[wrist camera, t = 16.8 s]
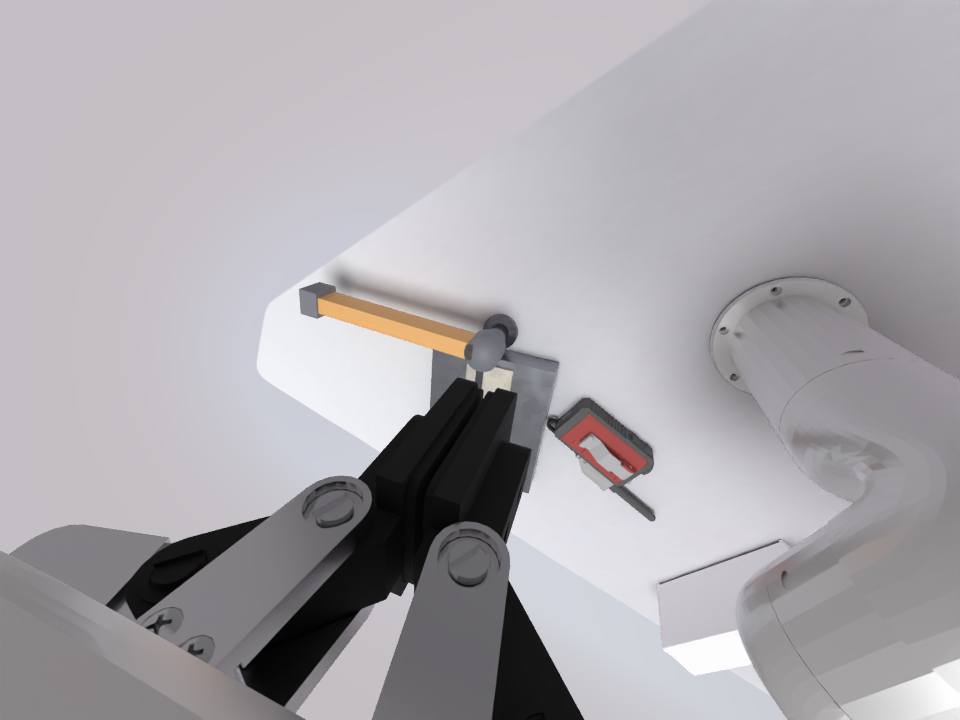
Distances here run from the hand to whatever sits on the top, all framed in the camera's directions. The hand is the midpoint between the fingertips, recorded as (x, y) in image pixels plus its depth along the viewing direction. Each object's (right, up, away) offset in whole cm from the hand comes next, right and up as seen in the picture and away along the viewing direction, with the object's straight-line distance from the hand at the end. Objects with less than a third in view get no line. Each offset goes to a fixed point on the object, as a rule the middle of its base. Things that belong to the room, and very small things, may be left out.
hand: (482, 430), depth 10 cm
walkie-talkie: (+18, -11, +40) cm, 45 cm away
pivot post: (+3, +6, +37) cm, 38 cm away
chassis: (+1, -5, +43) cm, 44 cm away
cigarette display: (+35, -28, +42) cm, 61 cm away
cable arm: (-9, +7, +36) cm, 38 cm away
